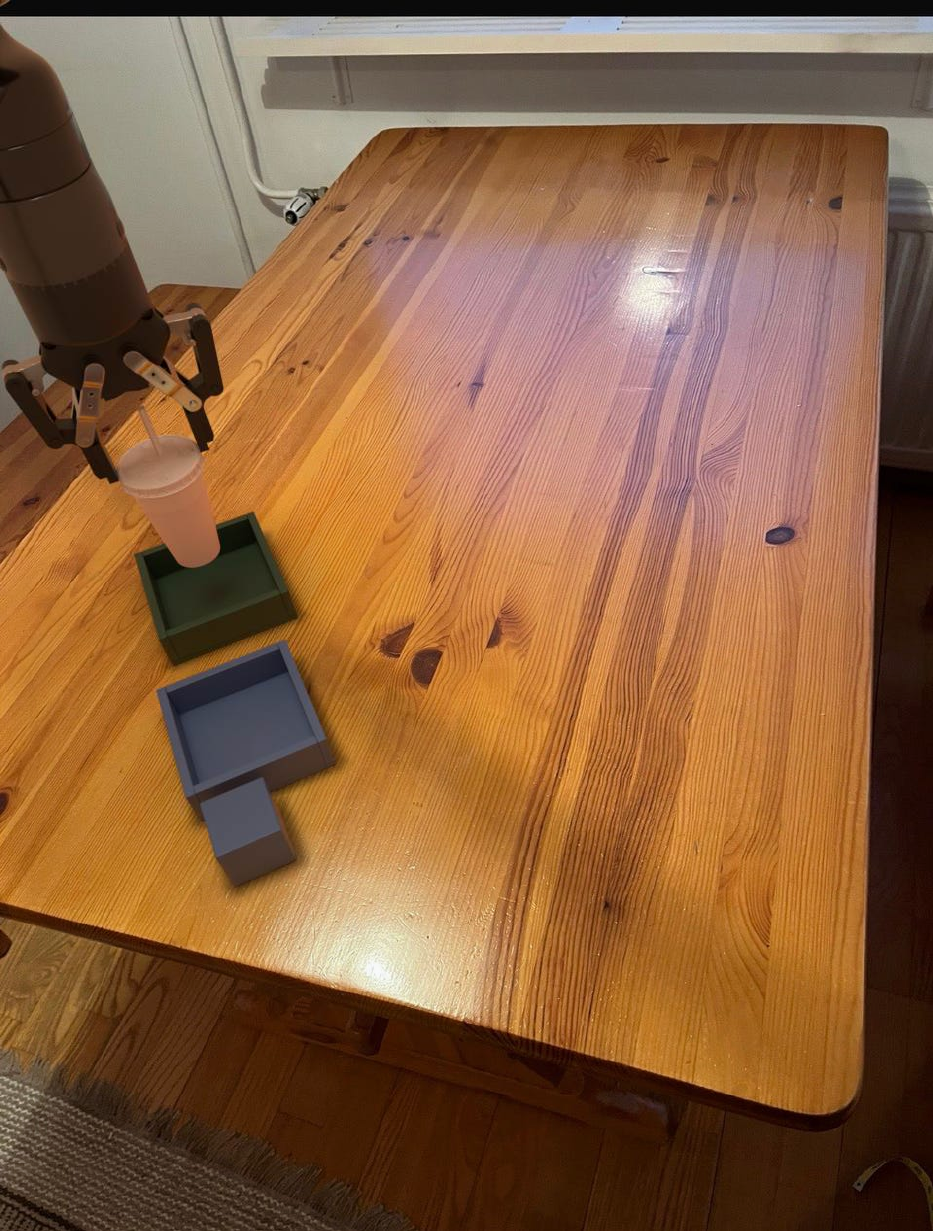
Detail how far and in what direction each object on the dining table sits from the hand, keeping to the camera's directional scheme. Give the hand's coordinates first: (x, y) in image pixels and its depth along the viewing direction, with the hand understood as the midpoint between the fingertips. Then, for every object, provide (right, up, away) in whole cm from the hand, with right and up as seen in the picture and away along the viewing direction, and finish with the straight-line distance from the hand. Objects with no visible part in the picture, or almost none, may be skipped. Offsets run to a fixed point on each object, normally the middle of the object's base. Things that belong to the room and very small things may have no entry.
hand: (157, 460), depth 69 cm
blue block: (+8, -28, -4) cm, 29 cm away
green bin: (+2, -10, +12) cm, 16 cm away
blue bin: (+6, -21, +2) cm, 22 cm away
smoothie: (+1, -6, +7) cm, 10 cm away
